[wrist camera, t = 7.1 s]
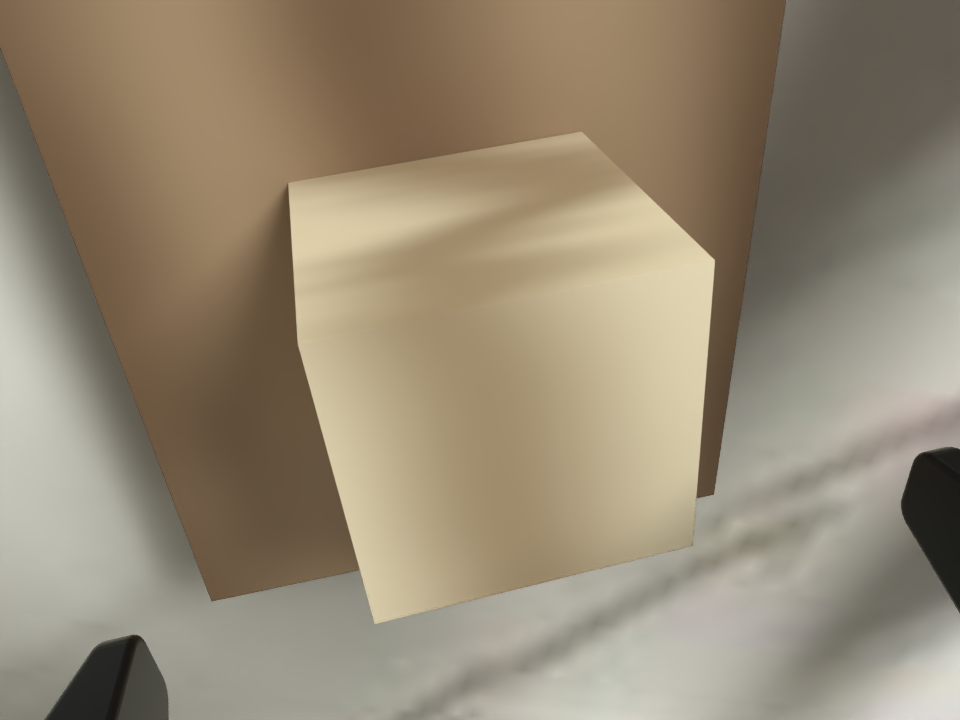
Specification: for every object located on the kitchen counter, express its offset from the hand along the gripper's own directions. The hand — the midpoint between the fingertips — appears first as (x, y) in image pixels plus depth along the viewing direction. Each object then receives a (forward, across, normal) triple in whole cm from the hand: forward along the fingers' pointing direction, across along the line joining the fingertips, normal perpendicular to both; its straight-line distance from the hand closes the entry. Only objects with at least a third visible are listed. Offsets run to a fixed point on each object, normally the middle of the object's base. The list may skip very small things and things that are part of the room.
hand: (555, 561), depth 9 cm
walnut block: (+11, 0, 0) cm, 11 cm away
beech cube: (+7, 0, 0) cm, 7 cm away
